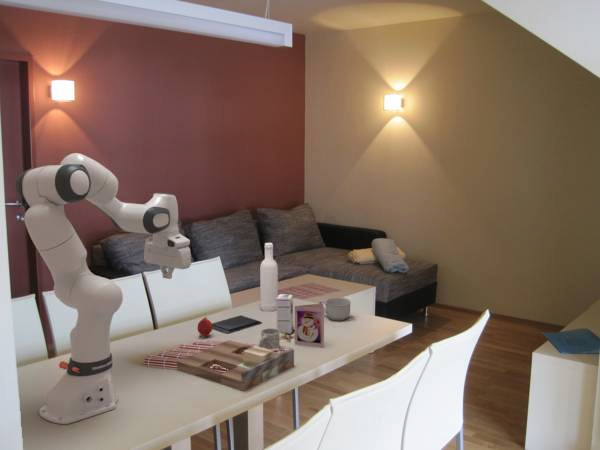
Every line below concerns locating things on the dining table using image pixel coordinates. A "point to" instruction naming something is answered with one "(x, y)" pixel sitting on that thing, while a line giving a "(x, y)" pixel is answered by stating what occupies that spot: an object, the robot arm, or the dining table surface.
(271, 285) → the bottle
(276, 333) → the mug
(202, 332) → the onion
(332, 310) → the teacup
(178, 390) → the dining table surface
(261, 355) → the birch block
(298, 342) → the greeting card
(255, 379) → the board
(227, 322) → the wallet
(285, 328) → the syrup box
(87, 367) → the robot arm
